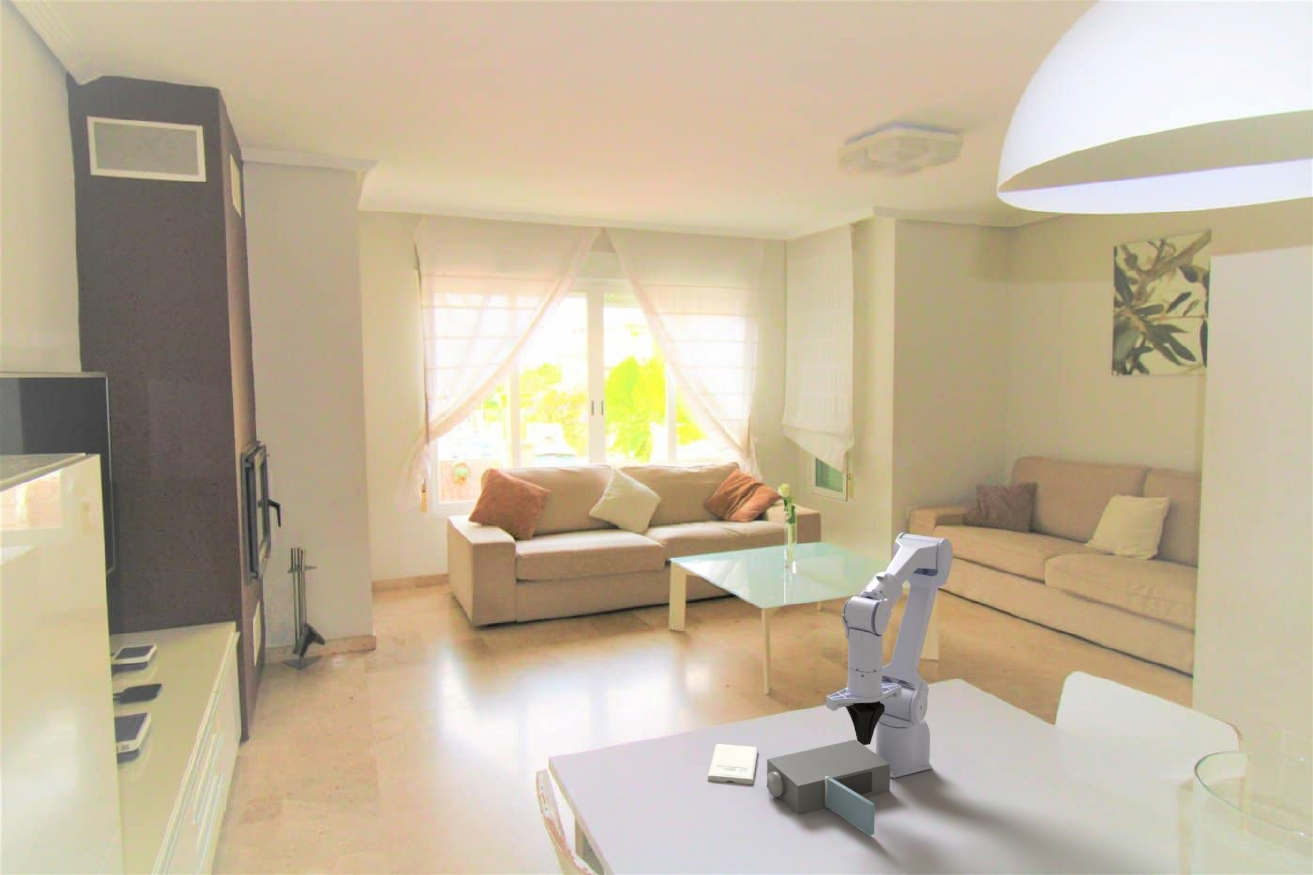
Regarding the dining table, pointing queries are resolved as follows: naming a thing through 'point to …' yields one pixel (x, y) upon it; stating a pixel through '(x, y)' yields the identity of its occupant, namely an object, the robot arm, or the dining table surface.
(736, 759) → the external hard drive
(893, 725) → the robot arm
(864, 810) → the side door
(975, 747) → the dining table surface
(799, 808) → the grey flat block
